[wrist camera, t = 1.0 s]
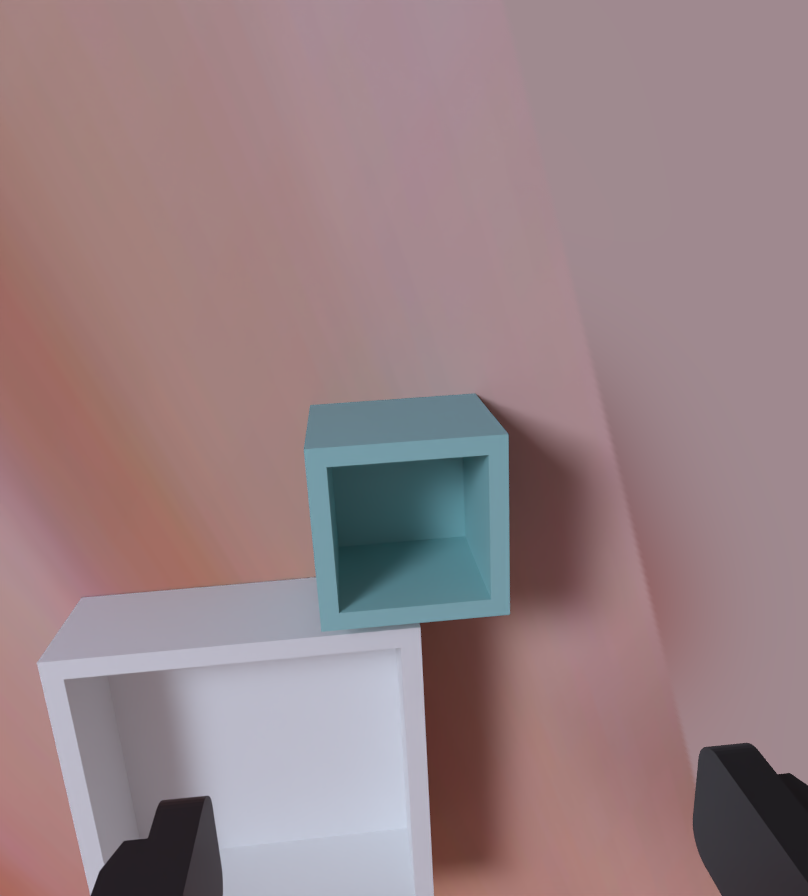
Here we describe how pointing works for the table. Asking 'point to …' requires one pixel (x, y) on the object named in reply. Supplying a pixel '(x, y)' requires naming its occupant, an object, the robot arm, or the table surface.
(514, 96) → the table surface
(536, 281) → the table surface
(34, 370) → the table surface
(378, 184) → the table surface
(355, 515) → the teal crate
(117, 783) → the white crate
